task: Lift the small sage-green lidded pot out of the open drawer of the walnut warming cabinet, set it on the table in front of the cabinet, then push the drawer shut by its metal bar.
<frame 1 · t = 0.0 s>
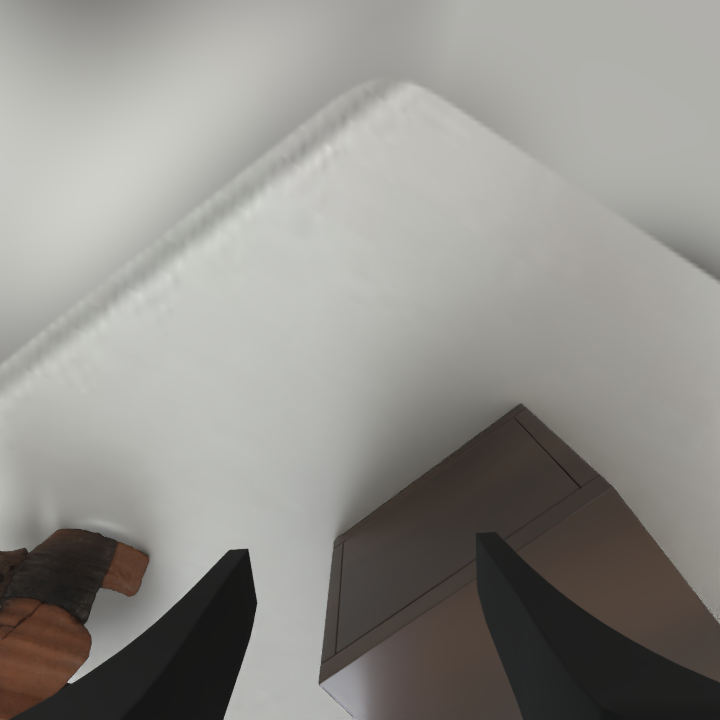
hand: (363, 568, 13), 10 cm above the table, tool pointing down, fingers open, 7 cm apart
cabinet: (495, 556, 25), on the table
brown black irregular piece: (76, 582, 26), on the table
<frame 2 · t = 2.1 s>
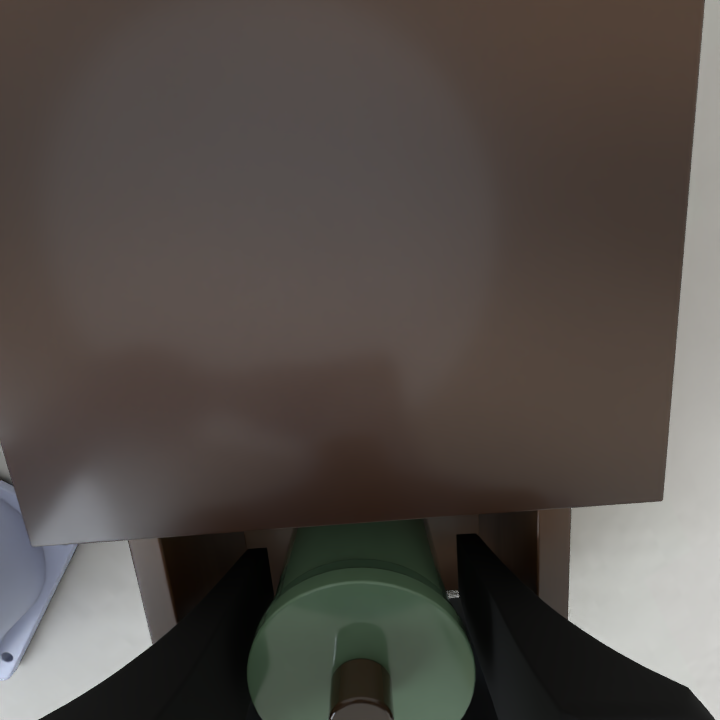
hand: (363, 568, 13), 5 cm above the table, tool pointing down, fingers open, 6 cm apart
cabinet: (334, 219, 16), on the table
drawer: (364, 605, 14), point 4 cm above the table, slide at 9.0 cm, touching gripper, pot
pot: (361, 516, 16), point 2 cm above the table, touching drawer
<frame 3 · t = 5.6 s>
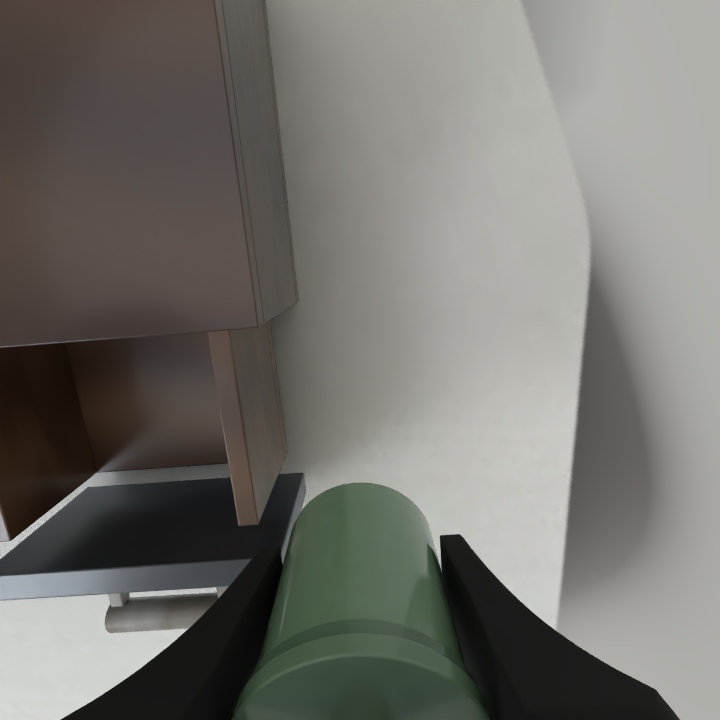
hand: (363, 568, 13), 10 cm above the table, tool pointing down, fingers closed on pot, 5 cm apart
cabinet: (147, 170, 21), on the table
drawer: (154, 455, 19), point 4 cm above the table, slide at 9.0 cm
pot: (361, 546, 14), point 9 cm above the table, touching gripper
when the fingers open (1 cm above the table, at t = 9.0 s): pot stays where it is, on the table.
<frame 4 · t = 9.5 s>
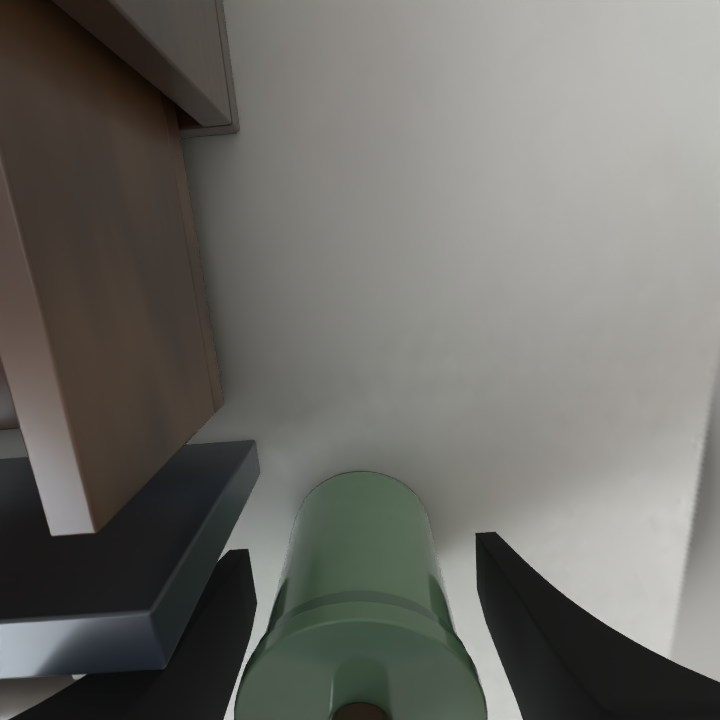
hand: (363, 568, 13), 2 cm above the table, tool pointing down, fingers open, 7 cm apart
pot: (362, 532, 15), on the table
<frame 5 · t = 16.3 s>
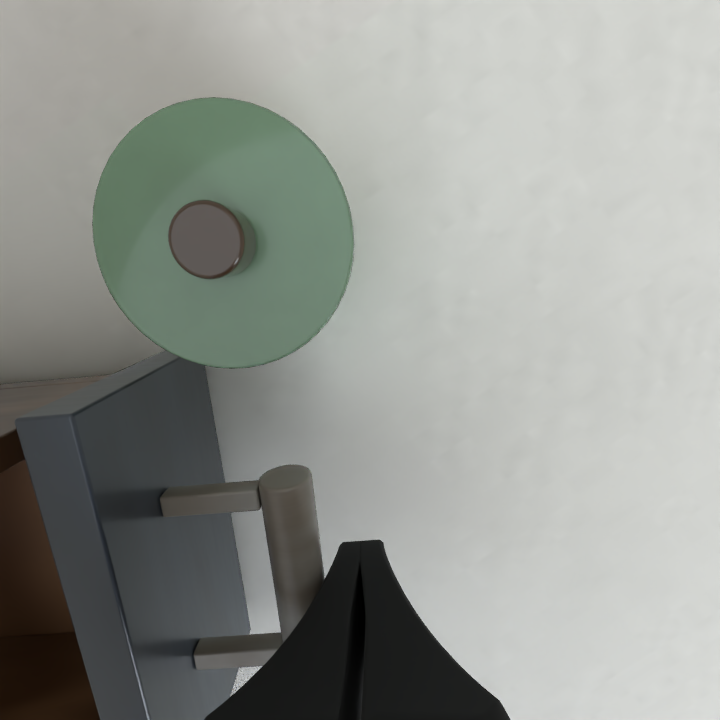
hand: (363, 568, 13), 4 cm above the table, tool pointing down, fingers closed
drawer: (56, 570, 13), point 4 cm above the table, slide at 9.0 cm, touching gripper
pot: (282, 249, 15), on the table
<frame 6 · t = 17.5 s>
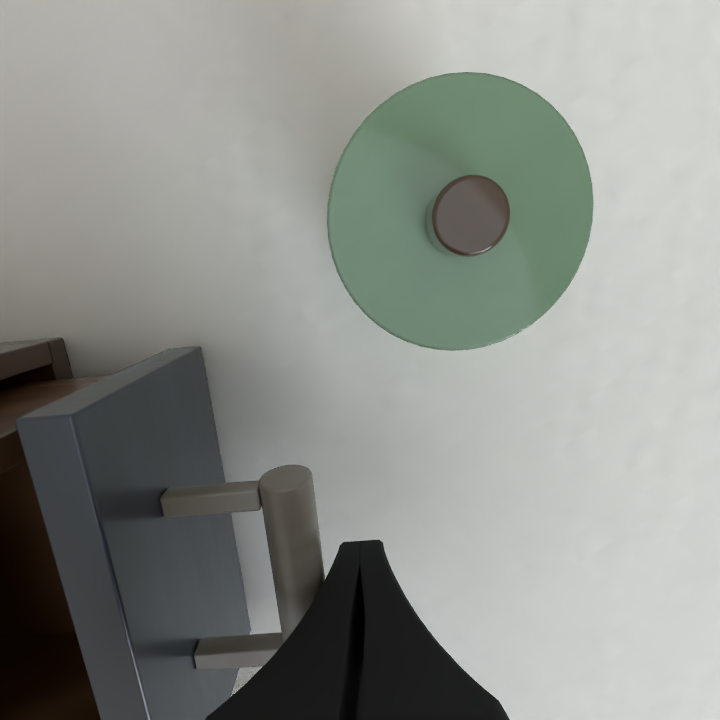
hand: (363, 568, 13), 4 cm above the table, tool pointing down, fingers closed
drawer: (56, 570, 13), point 4 cm above the table, slide at 4.2 cm, touching gripper
pot: (418, 237, 15), on the table
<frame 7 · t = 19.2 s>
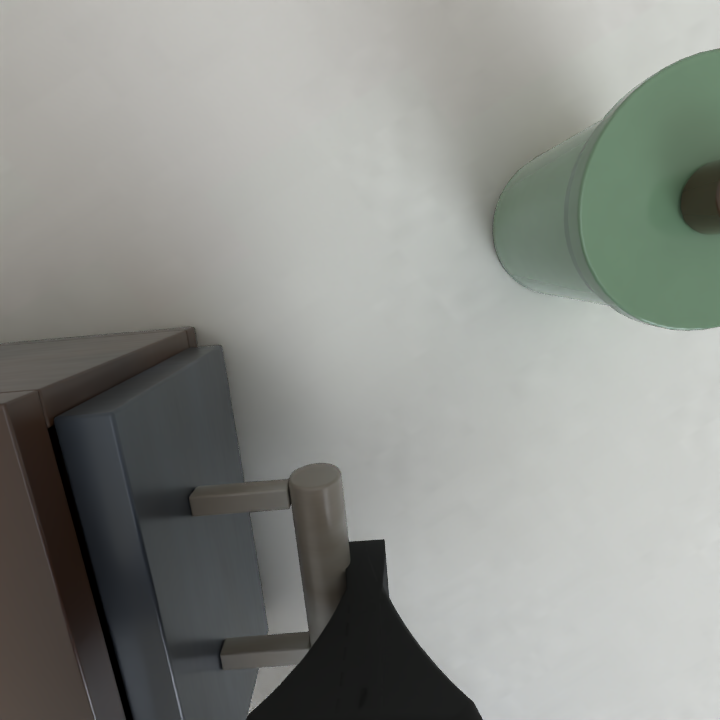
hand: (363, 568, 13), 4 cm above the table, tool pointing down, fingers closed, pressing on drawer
cabinet: (55, 502, 17), on the table
drawer: (79, 571, 13), point 4 cm above the table, slide at 0.0 cm, touching cabinet, gripper
pot: (561, 224, 15), on the table
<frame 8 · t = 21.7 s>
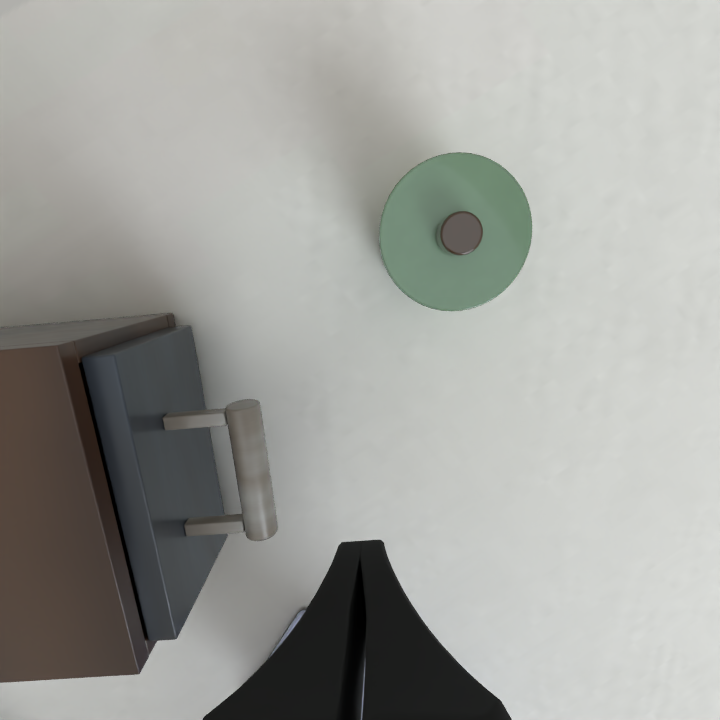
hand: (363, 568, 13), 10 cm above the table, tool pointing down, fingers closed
cabinet: (74, 440, 24), on the table
drawer: (92, 473, 19), point 4 cm above the table, slide at 0.0 cm, touching cabinet
pot: (428, 242, 21), on the table
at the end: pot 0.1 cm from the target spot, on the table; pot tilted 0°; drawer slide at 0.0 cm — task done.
